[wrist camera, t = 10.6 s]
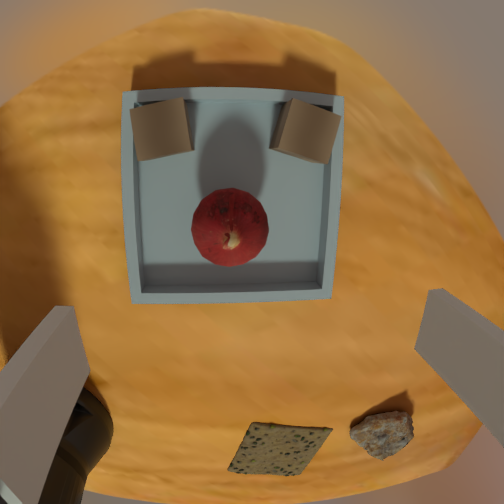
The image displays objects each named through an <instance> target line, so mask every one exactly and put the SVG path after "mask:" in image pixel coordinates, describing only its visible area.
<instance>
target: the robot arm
mask: <svg viewBox="0 0 504 504" xmlns="http://www.w3.org/2000/svg"><path fill="white" fill-rule="evenodd" d="M414 349H415V350H416V351H417V352H418V353H419V354H420V355H421V356H422V358H423V359H424V360H425V361H426V362H427V363H428V364H429V365H430V366H431V367H432V368H433V369H434V370H435V371H436V372H437V373H438V374H439V376H440V377H441V378H442V379H443V380H444V381H445V382H446V383H447V384H448V385H449V386H450V387H451V389H452V390H453V391H454V392H455V393H456V394H457V395H458V396H459V397H460V398H461V399H462V401H463V402H464V403H465V404H466V405H467V406H468V407H469V408H470V409H471V411H472V412H473V413H474V414H475V415H476V416H477V417H478V418H479V420H480V421H481V422H482V423H483V424H484V425H485V426H486V427H487V429H488V430H489V431H490V432H491V433H492V434H493V436H494V437H495V438H496V439H497V440H498V441H499V443H500V444H501V445H502V446H503V447H504V331H503V330H502V329H500V328H499V327H497V326H496V325H495V324H493V323H492V322H491V321H489V320H488V319H486V318H485V317H484V316H482V315H481V314H479V313H478V312H476V311H475V310H474V309H472V308H471V307H469V306H468V305H466V304H465V303H463V302H462V301H460V300H459V299H457V298H456V297H455V296H453V295H452V294H450V293H449V292H447V291H446V290H444V289H443V288H442V289H433V290H429V291H428V296H427V301H426V305H425V310H424V314H423V318H422V322H421V326H420V330H419V334H418V337H417V341H416V345H415V348H414ZM89 373H90V368H89V364H88V361H87V357H86V354H85V350H84V347H83V343H82V339H81V335H80V331H79V327H78V323H77V319H76V315H75V310H74V306H55V307H54V308H53V309H52V310H51V311H50V312H49V313H48V314H47V316H46V317H45V318H44V319H43V320H42V321H41V323H40V324H39V325H38V326H37V327H36V328H35V330H34V331H33V332H32V333H31V334H30V336H29V337H28V338H27V339H26V340H25V342H24V343H23V344H22V345H21V347H20V348H19V349H18V350H17V351H16V353H15V354H14V355H13V357H12V358H11V359H10V360H9V362H8V363H7V364H6V365H5V367H4V368H3V369H2V371H1V372H0V504H81V500H82V496H83V491H84V487H85V483H86V479H87V476H88V474H89V473H90V472H91V470H92V469H93V468H94V467H95V466H96V464H97V463H98V462H99V461H100V459H101V458H102V457H103V455H104V454H105V453H106V452H107V451H108V449H109V447H110V444H111V440H112V436H113V423H112V420H111V418H110V416H109V414H108V412H107V411H106V409H105V408H104V406H103V405H102V404H101V403H100V402H99V401H98V400H97V399H96V398H95V397H94V396H93V395H92V394H91V393H90V392H89V391H87V390H86V389H85V388H83V386H84V383H85V381H86V379H87V377H88V375H89Z"/></svg>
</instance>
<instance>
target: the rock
mask: <svg viewBox="0 0 504 504" xmlns="http://www.w3.org/2000/svg"><path fill="white" fill-rule="evenodd" d="M412 423H413V421H412V418H411V417H410V416H409V414H407V413H406V412H398V411H394V412H386V413H382V414H376V415H371V416H367V417H366V418H365V419H364V420H363V421H362V422H361V423H360V424H358V425H356V426H354V427H353V428H352V429H351V430H350V436H351V439H353V440H355V441H356V442H357V444H358V445H359V446H360V447H363V448H364V449H365V450H368V451H367V452H368V454H369V455H371V456H373V457H375V458H377V459H380V460H382V461H383V459H385V458H386V457H388V456H391V455H394V454H395V453H397V452H398V451H400V450H401V449H402V448H404V447H405V446H406V445H407V444H408V442H410V440H411V439H413V437H414V434H413V430H414V427H413V426H412Z"/></svg>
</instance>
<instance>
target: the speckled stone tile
mask: <svg viewBox="0 0 504 504" xmlns="http://www.w3.org/2000/svg"><path fill="white" fill-rule="evenodd" d="M332 430H333V429H332V428H315V427H300V426H298V427H296V426H286V425H275V424H265V423H257V422H253V423H251V425H250V427H249V429H248V430H247V432H246V435H245V436H244V438H243V441H242V443H241V445H240V446H239V449H238V451H237V452H236V455H235V457H234V458H233V460H232V462H231V464H230V466H229V467H228V471H230V472H236V473H243V474H272V475H284V476H289V475H292V476H294V475H300V474H301V472H302V471H303V470H304V469H305V467H306V466H307V465H308V464H309V463H310V461H311V459H312V458H313V457H314V455H315V454H316V452H317V451H318V450H319V448H320V447H321V446H322V444H323V443H324V441H325V440H326V438H327V437H328V436H329V434H330V432H332Z"/></svg>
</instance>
